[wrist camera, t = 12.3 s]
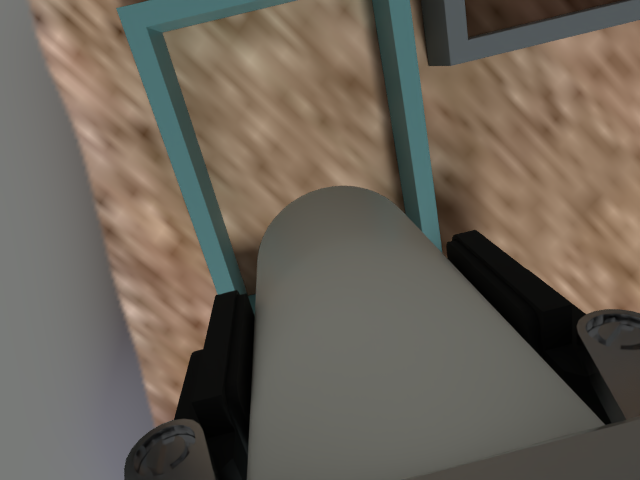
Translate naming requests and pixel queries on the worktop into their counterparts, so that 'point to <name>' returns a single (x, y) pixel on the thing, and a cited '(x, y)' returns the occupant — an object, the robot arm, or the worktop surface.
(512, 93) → the worktop surface
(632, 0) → the bin
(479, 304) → the canister
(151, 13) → the bin
